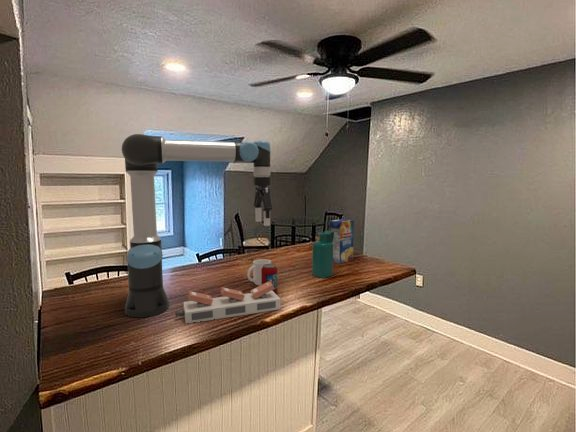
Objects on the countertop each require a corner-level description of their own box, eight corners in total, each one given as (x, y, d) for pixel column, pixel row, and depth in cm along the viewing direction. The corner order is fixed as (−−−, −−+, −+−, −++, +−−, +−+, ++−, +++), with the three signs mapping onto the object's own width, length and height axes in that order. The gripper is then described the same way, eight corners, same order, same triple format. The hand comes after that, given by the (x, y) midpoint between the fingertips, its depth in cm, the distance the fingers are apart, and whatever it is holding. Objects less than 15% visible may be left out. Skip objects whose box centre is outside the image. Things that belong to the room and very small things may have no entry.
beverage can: (271, 296, 134) (271, 268, 133) (258, 293, 138) (258, 266, 136) (280, 291, 140) (280, 264, 138) (267, 288, 143) (267, 262, 142)
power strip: (176, 325, 108) (175, 310, 107) (175, 313, 117) (174, 299, 117) (280, 309, 121) (280, 295, 121) (272, 299, 131) (272, 287, 130)
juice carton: (343, 257, 197) (344, 218, 194) (353, 260, 192) (354, 220, 189) (329, 261, 190) (330, 220, 187) (339, 263, 184) (340, 222, 181)
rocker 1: (188, 300, 111) (190, 294, 111) (187, 295, 116) (189, 290, 116) (211, 304, 114) (212, 299, 114) (209, 300, 119) (211, 295, 119)
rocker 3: (255, 298, 120) (253, 294, 120) (252, 294, 124) (250, 290, 124) (274, 289, 123) (272, 284, 122) (270, 285, 127) (269, 280, 126)
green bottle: (322, 279, 157) (323, 234, 154) (310, 275, 163) (310, 232, 161) (336, 274, 163) (336, 231, 161) (323, 271, 170) (324, 229, 167)
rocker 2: (222, 295, 116) (224, 290, 116) (220, 291, 120) (221, 286, 120) (243, 300, 119) (244, 295, 119) (240, 296, 123) (241, 291, 123)
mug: (252, 288, 143) (251, 266, 142) (243, 283, 150) (242, 262, 149) (274, 283, 151) (274, 261, 149) (264, 279, 157) (264, 258, 156)
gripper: (279, 176, 135) (279, 226, 138) (262, 176, 158) (262, 219, 161) (262, 176, 132) (262, 228, 135) (247, 176, 156) (247, 220, 158)
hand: (262, 223), depth 148 cm, fingers open, 13 cm apart
